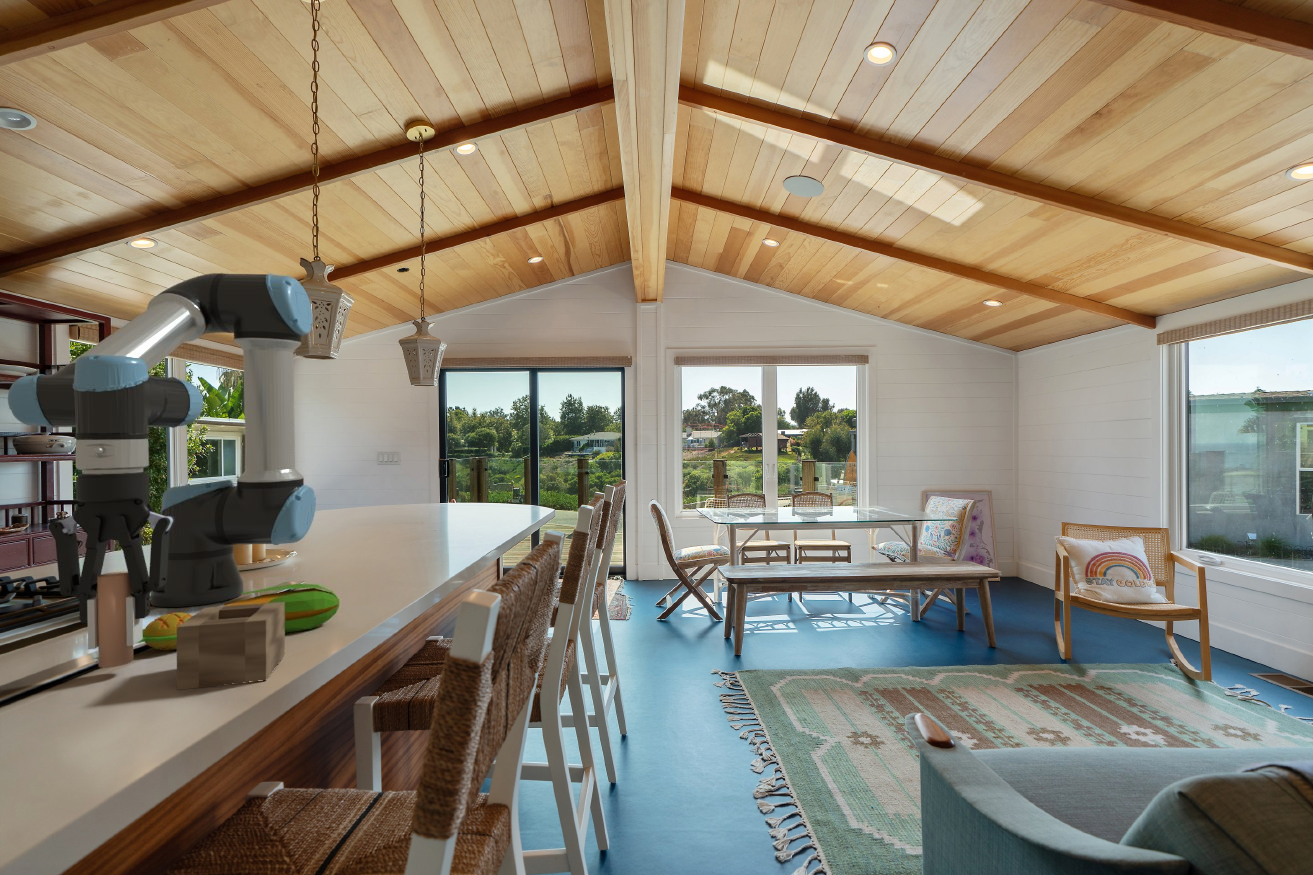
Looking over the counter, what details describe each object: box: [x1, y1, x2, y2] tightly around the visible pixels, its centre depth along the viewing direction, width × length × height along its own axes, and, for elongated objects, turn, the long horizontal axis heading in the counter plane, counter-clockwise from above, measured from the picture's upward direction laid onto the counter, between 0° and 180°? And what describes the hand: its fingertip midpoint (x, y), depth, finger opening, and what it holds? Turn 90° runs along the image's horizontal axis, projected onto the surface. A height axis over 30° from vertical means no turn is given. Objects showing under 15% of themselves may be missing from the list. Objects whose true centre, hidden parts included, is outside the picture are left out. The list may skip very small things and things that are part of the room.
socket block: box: [176, 602, 286, 691], centre depth 88 cm, size 10×10×8 cm
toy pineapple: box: [135, 612, 193, 651], centre depth 97 cm, size 7×10×5 cm
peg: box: [97, 571, 134, 669], centre depth 87 cm, size 4×4×12 cm
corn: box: [223, 583, 340, 634], centre depth 106 cm, size 7×8×20 cm
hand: (115, 643), depth 87 cm, fingers closed on peg, 3 cm apart
